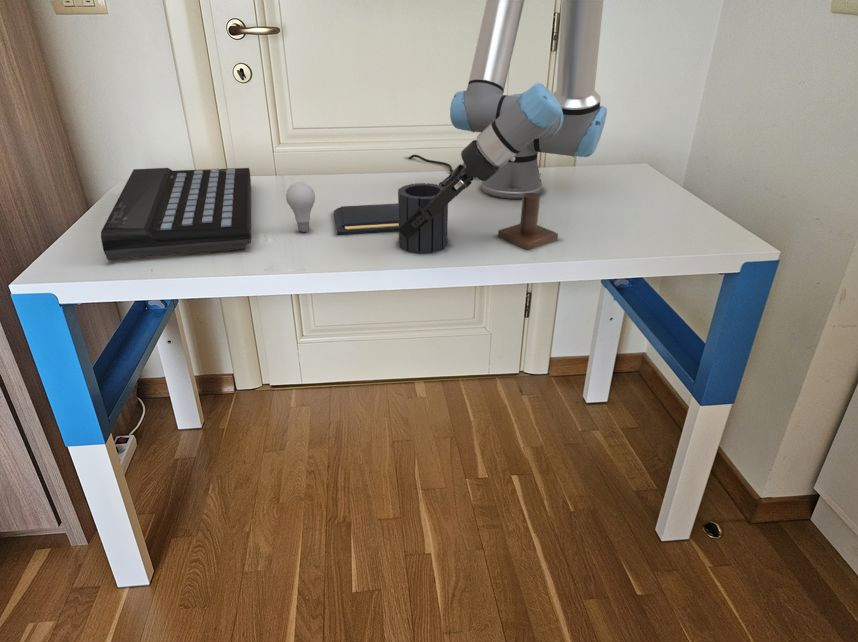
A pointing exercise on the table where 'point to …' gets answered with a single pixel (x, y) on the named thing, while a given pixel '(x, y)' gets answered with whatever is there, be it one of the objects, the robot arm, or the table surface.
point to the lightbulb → (301, 203)
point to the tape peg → (528, 226)
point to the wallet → (366, 219)
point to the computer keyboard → (179, 213)
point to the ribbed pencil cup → (432, 231)
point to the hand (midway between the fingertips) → (409, 224)
